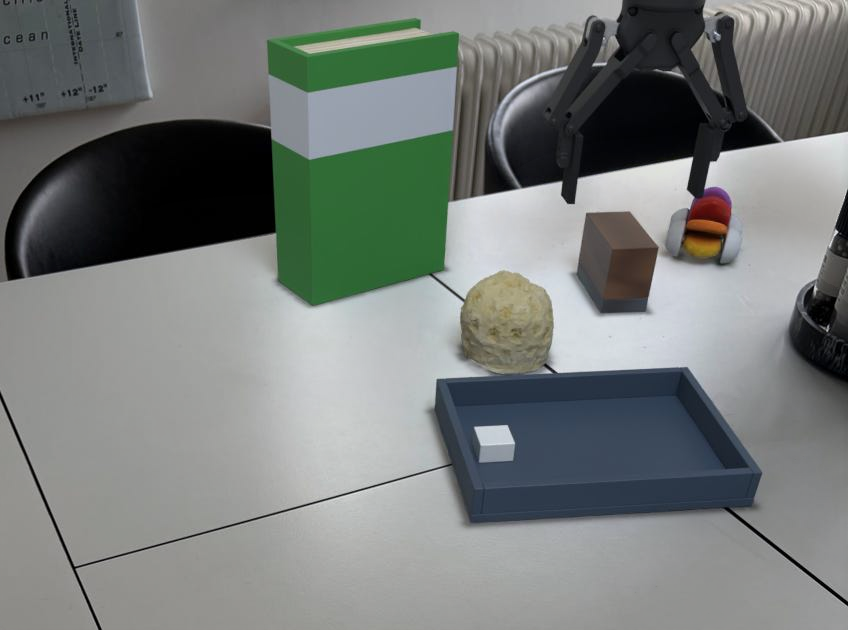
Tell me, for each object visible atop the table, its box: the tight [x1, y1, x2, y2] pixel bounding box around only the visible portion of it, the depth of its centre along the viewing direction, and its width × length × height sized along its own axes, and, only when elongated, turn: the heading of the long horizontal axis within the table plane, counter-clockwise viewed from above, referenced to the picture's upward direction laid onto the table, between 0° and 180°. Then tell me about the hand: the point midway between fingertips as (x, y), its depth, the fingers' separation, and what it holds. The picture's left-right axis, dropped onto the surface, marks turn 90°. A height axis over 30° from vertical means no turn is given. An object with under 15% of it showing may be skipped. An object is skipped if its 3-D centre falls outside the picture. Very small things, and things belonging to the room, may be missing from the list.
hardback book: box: [266, 17, 460, 307], centre depth 110 cm, size 18×7×24 cm, turn 124°
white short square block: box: [472, 425, 515, 463], centre depth 89 cm, size 3×3×2 cm
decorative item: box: [459, 269, 555, 375], centre depth 102 cm, size 10×10×10 cm
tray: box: [434, 366, 763, 524], centre depth 90 cm, size 24×18×3 cm
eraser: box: [576, 210, 660, 314], centre depth 113 cm, size 5×10×7 cm, turn 7°
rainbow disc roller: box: [664, 186, 744, 264], centre depth 122 cm, size 8×10×7 cm
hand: (631, 197), depth 108 cm, fingers open, 13 cm apart
